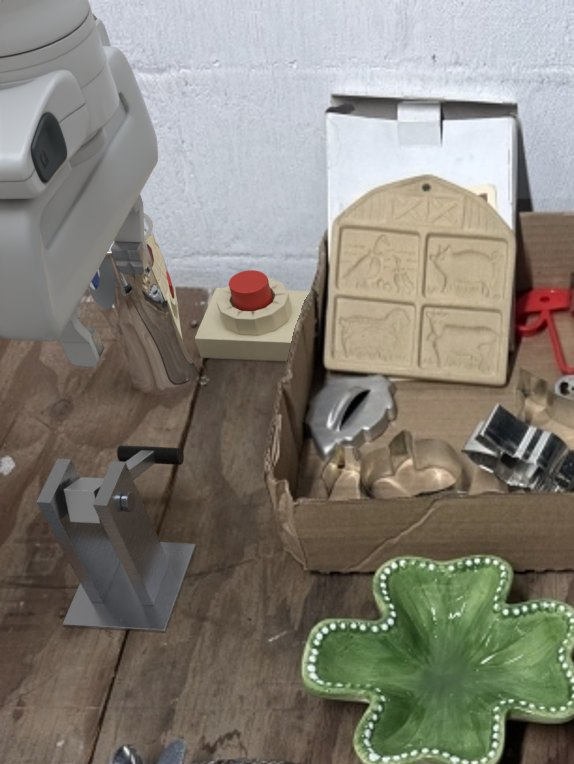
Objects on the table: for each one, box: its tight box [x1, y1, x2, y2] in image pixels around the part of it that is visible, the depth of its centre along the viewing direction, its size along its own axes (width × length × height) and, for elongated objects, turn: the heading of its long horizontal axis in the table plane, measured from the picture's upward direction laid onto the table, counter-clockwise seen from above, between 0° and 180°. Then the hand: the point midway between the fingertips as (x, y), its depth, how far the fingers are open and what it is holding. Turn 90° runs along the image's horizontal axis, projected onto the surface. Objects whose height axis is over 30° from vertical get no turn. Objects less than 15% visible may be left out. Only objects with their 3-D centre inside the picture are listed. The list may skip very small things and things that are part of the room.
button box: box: [194, 277, 310, 362], centre depth 102 cm, size 10×8×4 cm
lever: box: [64, 444, 185, 523], centre depth 81 cm, size 13×5×2 cm, turn 175°
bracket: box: [36, 458, 197, 633], centre depth 80 cm, size 9×8×12 cm
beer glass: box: [87, 212, 200, 396], centre depth 93 cm, size 7×7×15 cm
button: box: [228, 269, 272, 311], centre depth 100 cm, size 4×4×2 cm
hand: (113, 312), depth 67 cm, fingers open, 8 cm apart
